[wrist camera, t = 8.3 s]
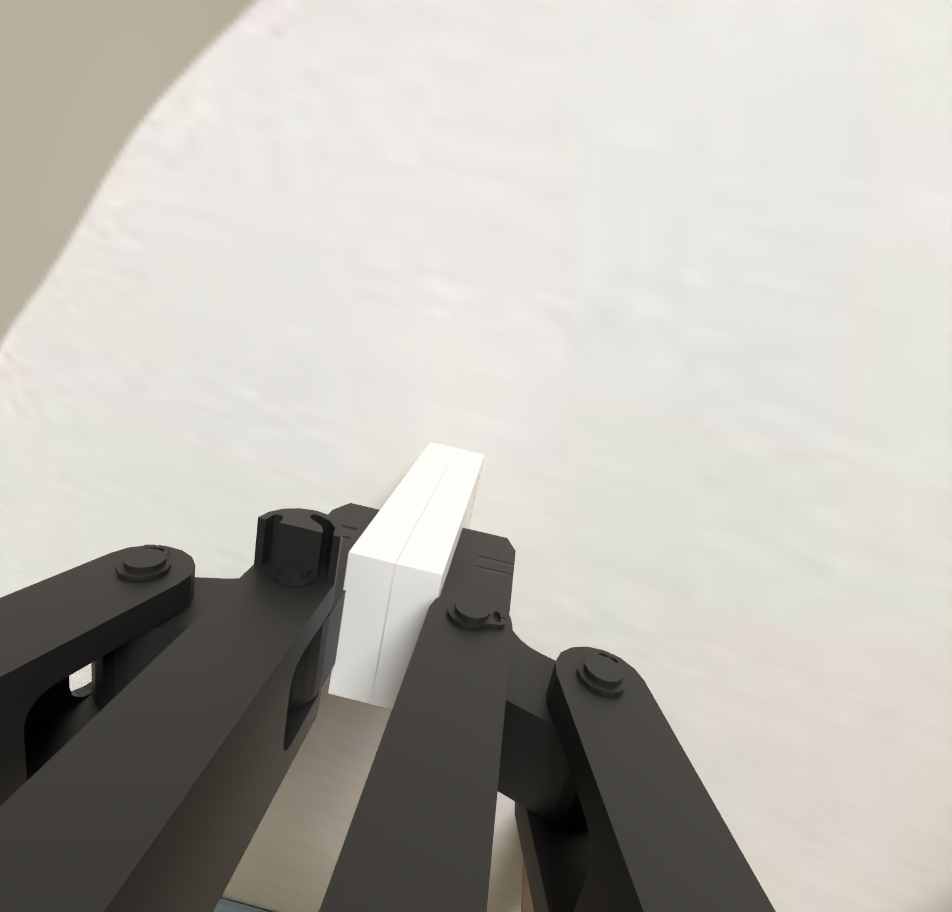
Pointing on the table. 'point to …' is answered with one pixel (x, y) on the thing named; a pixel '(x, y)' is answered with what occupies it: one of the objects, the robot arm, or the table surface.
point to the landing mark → (234, 907)
